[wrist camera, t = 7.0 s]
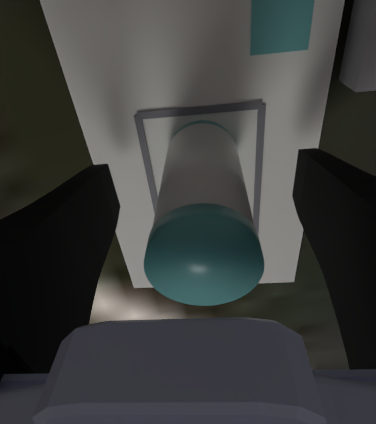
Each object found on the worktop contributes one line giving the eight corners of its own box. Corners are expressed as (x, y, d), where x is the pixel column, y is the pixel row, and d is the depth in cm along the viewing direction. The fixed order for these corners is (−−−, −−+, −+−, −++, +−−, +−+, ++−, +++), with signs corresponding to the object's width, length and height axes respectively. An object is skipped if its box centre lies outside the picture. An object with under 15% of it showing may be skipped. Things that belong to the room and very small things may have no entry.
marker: (235, 180, 14) (258, 305, 9) (170, 182, 14) (151, 305, 9) (239, 114, 12) (271, 222, 7) (163, 118, 12) (134, 225, 7)
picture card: (291, 275, 19) (294, 283, 18) (135, 281, 19) (133, 289, 19) (351, -77, 9) (360, -81, 8) (35, -34, 10) (26, -35, 9)
